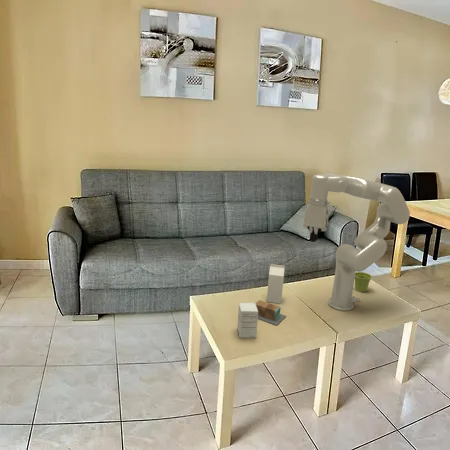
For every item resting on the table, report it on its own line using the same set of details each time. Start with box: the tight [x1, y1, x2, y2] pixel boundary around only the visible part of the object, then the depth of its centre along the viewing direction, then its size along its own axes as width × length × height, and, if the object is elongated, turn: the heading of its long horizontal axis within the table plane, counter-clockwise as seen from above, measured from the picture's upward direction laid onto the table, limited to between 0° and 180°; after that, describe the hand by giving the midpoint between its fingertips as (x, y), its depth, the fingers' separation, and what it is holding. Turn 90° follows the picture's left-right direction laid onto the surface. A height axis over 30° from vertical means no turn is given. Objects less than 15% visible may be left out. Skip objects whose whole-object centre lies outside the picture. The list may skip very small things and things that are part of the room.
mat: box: [258, 313, 287, 327], centre depth 180 cm, size 14×10×1 cm
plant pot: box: [354, 271, 373, 293], centre depth 212 cm, size 9×9×9 cm
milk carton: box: [266, 263, 286, 304], centre depth 194 cm, size 7×7×19 cm
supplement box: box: [236, 302, 259, 339], centre depth 164 cm, size 7×7×13 cm
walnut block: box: [254, 299, 282, 321], centre depth 180 cm, size 5×5×11 cm
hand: (313, 241), depth 179 cm, fingers closed
